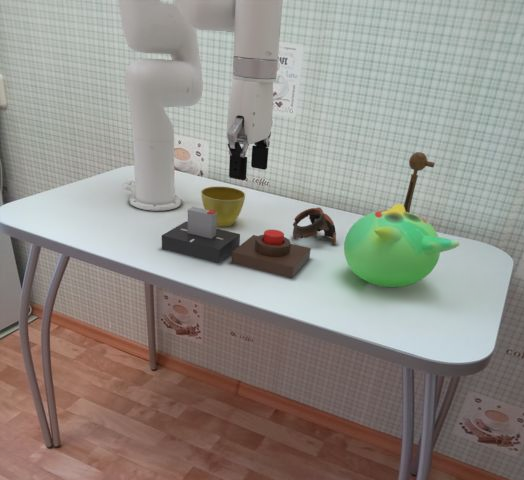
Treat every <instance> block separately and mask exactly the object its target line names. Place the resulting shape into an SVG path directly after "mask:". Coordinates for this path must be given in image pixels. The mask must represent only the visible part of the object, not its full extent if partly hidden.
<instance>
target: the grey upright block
mask: <svg viewBox="0 0 524 480" xmlns="http://www.w3.org/2000/svg"><path fill="white" fill-rule="evenodd" d="M187 222H188V233H189V234H193V235H197V236H202V237H206V238H210V239H212V238H213V237H215V236H216V228H217V226H216V222H217V212H216V211H214V210H206V209H204V208H201V207H197V206H196V207H195V206H191V207H190V208H188V209H187Z"/></svg>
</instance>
